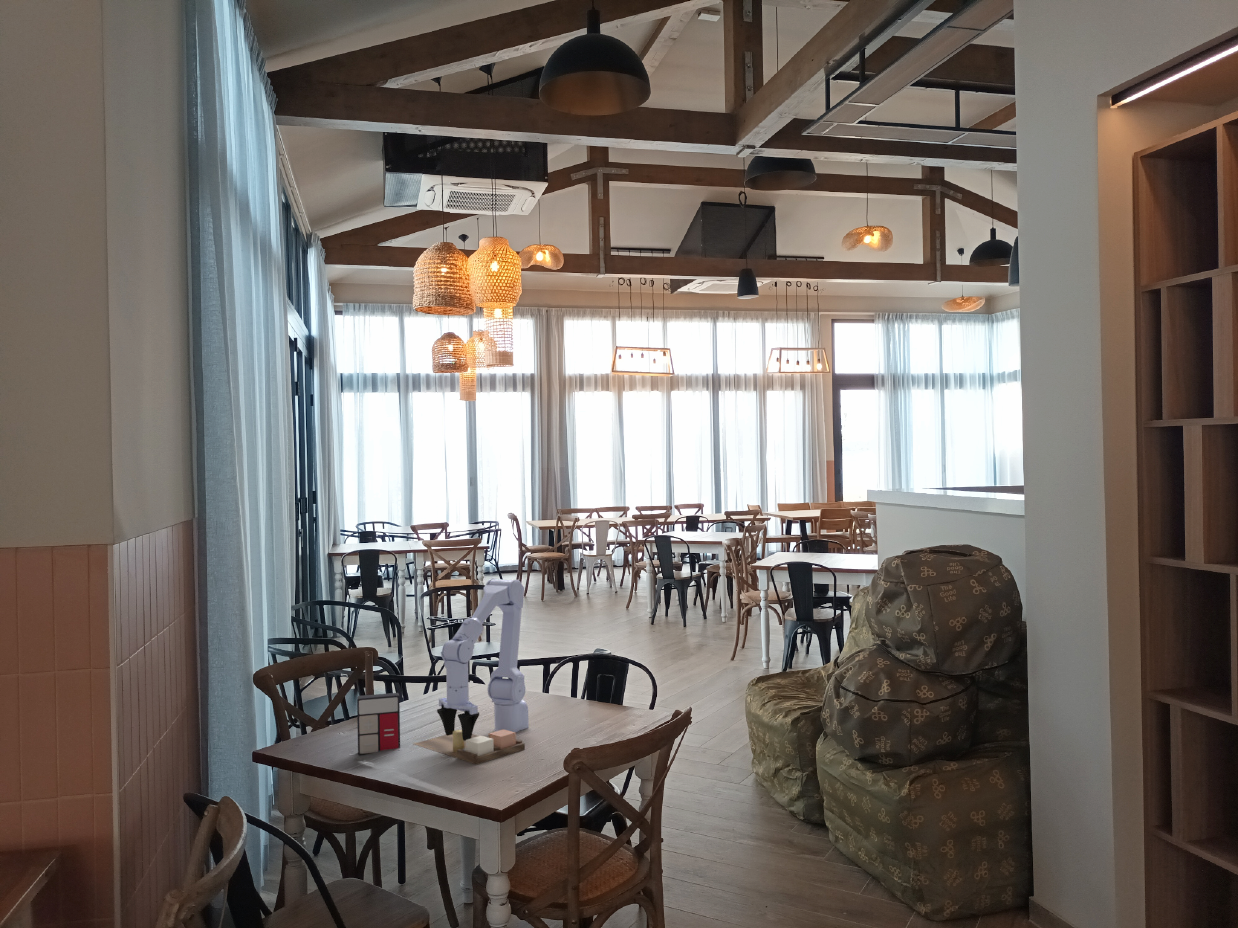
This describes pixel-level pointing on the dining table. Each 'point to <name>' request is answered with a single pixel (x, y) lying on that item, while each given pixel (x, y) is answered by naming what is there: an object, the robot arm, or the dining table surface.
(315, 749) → the dining table surface
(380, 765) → the dining table surface
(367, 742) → the calculator
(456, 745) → the tethered block
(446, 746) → the shelf
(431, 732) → the dining table surface
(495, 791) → the dining table surface
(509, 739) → the untied block
